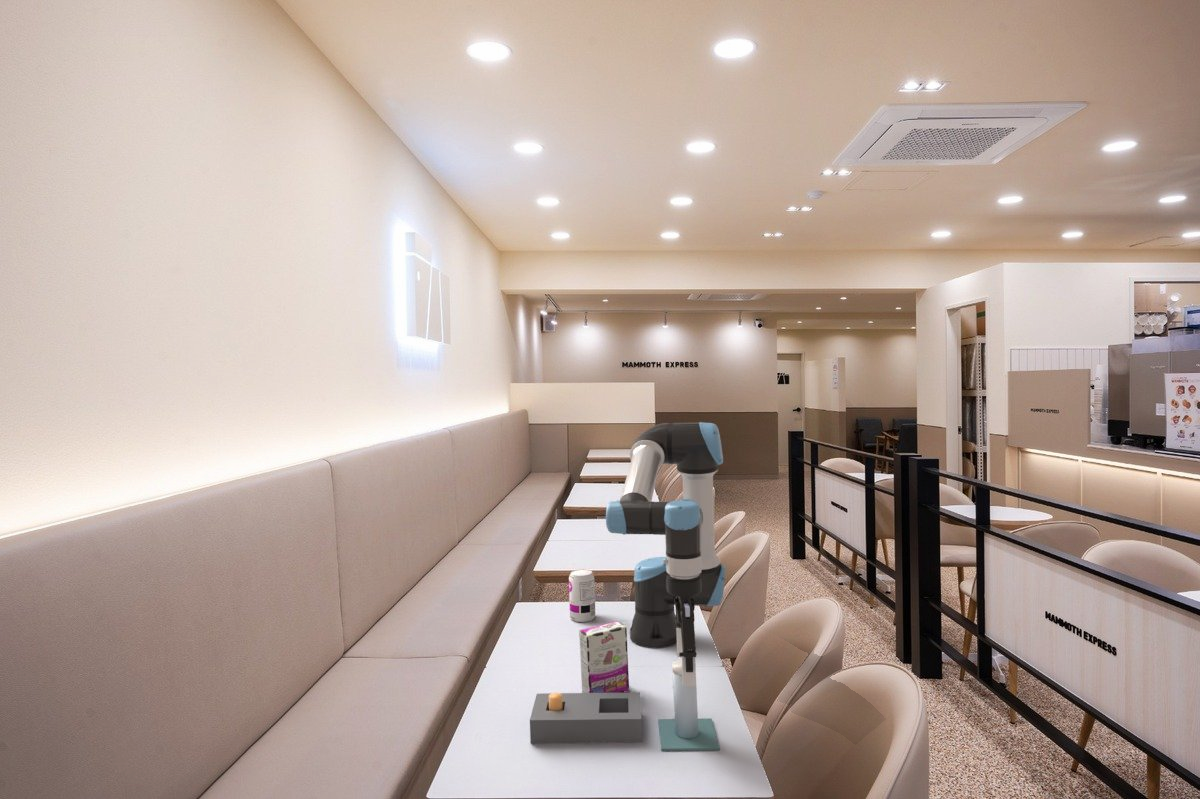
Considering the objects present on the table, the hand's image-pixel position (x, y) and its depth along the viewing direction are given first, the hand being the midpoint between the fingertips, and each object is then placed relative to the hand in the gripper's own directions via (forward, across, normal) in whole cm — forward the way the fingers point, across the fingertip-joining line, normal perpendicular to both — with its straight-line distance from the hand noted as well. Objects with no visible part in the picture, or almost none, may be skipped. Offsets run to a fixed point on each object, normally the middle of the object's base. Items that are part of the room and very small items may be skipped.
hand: (686, 670), depth 146 cm
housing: (+14, -3, -22) cm, 26 cm away
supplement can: (+15, -70, -27) cm, 77 cm away
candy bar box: (+15, -19, -18) cm, 30 cm away
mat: (+14, +1, 0) cm, 14 cm away
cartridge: (+14, 0, 0) cm, 14 cm away
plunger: (+13, -3, -29) cm, 32 cm away
